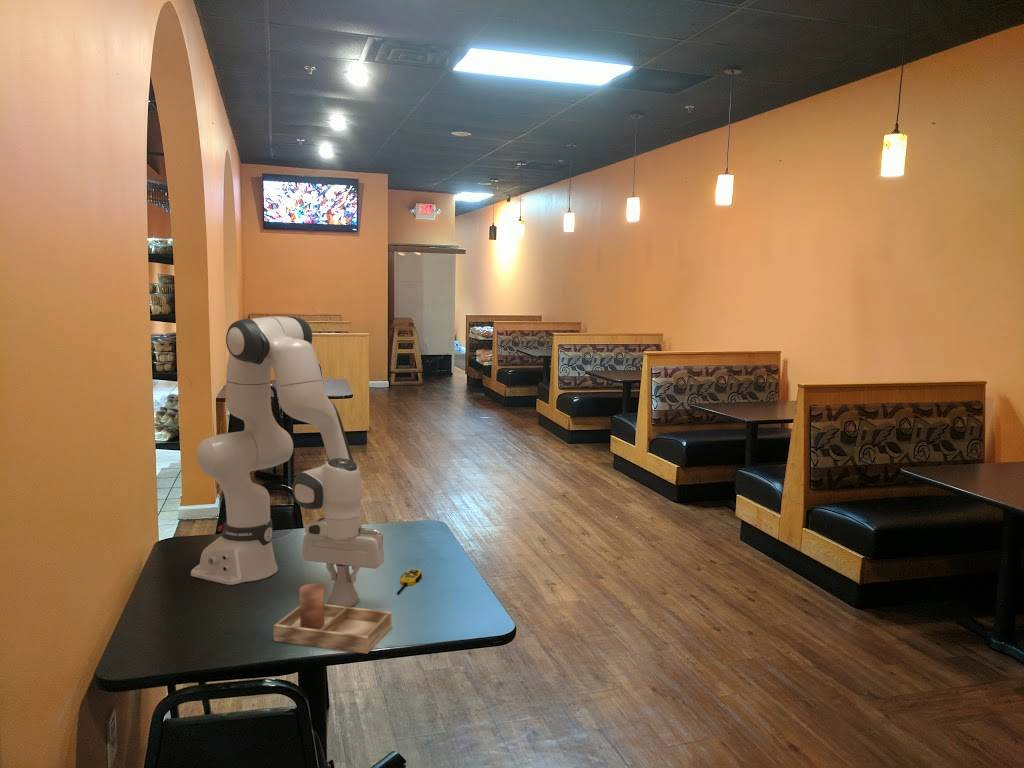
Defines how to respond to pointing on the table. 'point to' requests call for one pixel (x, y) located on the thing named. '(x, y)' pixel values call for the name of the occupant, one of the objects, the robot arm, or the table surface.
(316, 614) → the condiment caddy
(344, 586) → the flask
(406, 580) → the yellow walkie talkie
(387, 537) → the table surface
